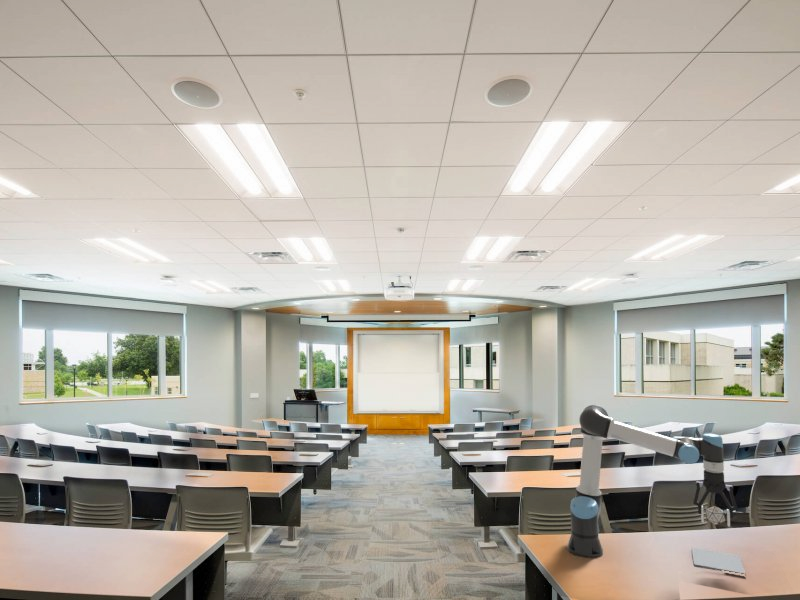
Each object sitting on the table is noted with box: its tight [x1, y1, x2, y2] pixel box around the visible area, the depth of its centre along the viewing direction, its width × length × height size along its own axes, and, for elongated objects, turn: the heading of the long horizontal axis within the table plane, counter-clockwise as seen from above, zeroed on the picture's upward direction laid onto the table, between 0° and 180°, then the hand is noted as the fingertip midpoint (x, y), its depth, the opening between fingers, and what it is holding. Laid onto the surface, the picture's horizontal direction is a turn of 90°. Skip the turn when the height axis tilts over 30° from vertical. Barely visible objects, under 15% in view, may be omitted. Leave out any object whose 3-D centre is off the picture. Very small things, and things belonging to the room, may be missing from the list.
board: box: [691, 547, 746, 575], centre depth 215 cm, size 18×18×2 cm
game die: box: [703, 503, 727, 527], centre depth 216 cm, size 9×8×10 cm
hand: (715, 523), depth 216 cm, fingers closed on game die, 9 cm apart
